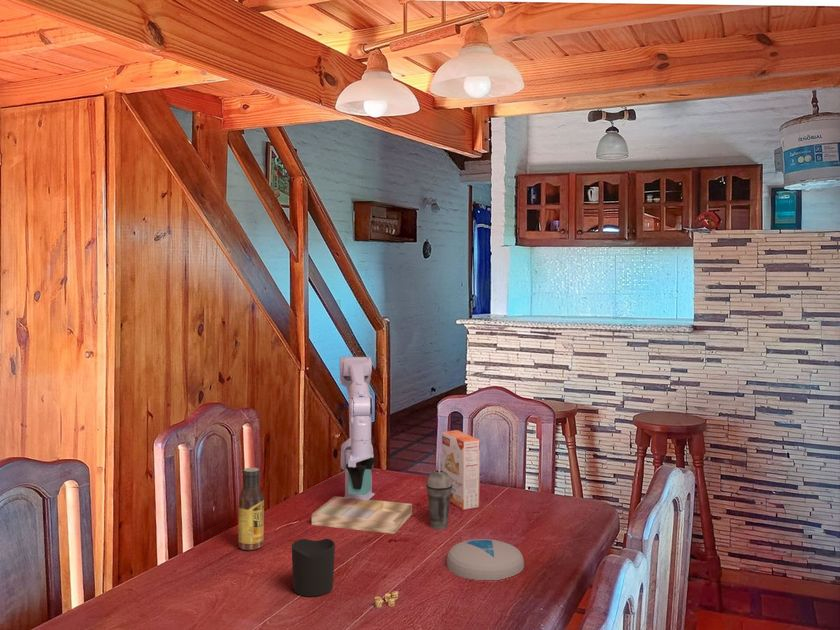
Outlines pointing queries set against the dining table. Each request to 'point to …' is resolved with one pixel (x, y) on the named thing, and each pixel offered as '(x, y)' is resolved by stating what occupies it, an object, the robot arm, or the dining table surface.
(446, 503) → the beverage cup
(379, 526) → the puzzle board
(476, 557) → the grey thick round disc
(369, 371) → the robot arm
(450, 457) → the cracker box
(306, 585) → the pen holder
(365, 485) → the teal block
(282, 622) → the dining table surface
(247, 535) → the sauce bottle
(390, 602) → the popcorn pieces
